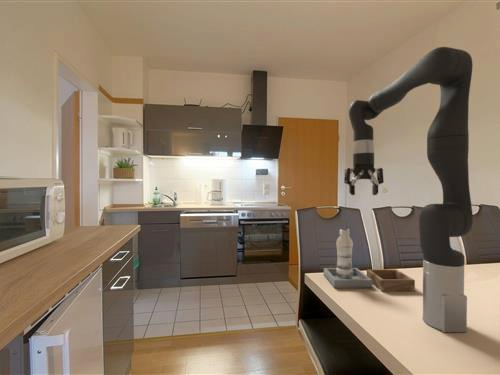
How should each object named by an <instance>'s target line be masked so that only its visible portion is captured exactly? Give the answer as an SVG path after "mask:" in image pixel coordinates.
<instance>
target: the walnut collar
mask: <svg viewBox="0 0 500 375" xmlns="http://www.w3.org/2000/svg"><path fill="white" fill-rule="evenodd" d="M366 276H368V277H369V278H370V279H371V280H372V286H374V285H375V286H376V287H375V286H374V287H375V288H377V289H378V290H379V289H380V290H381V291H380V290H379V291H380V292H416V288H415V287H416V280H415V279H414V278H412V277H411V276H408V275H407V274H405V273H403V272H401V271H400V270H398V269H395V268H394V269H393V268H392V269H390V268H389V269H387V268H386V269H380V268H379V269H373V268H372V269H366Z"/></svg>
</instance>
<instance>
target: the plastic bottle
mask: <svg viewBox="0 0 500 375" xmlns="http://www.w3.org/2000/svg"><path fill="white" fill-rule="evenodd" d="M338 233H339V236H338V238H337V239H336V242H335V245H336V251H337V252H336V253H337V262H336V267H335V268H336V276H337V278H338V279H352V278H353V270H352V268H353V262H352V256H353V248H354V247H353V246H354V242H353V240H352V238H351V237H350V234H351V233H350V229H349V228H340V229H339V232H338Z"/></svg>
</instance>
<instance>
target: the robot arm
mask: <svg viewBox="0 0 500 375" xmlns="http://www.w3.org/2000/svg"><path fill="white" fill-rule="evenodd" d="M472 75H473V59H472V56H471V54H470V53H469V52H468V51H466V50H464V49H459V48H453V47H448V46H440V47H436V48H434V49H432V50H430V52H428V53H427V54H425V55H424V56H423V57H422V58H420V59H419V60H417V62H415V63H414V64H413V65H412V66H411V67H410V68H408V69H407V70H406V71H405V72H403V73H402V74H401V75H400V76H398V77H397V78H396V79H395V80H393V81H392V82H390V83H389V84H387V85H386V86H384V87H382V88H380V89H379V90H377V91H376V92H374V93H373V94H371V95H370V97H369V99H368V101H367V100H361V99H360V100H359V99H357V100H354V101H353V102H352V103H351V104H350V106H349V109H348V117H349V120H350V125H351V128H352V131H353V145H352V166H353V167H352V168H350V167H346V168H345V169H344V180H343V181H344V184H346V185H348V186H349V187H348V189H349V194H350V195H351V196H355V195H356V190H355V189H356V186H355V184H356V183H357V182H358V180H368V181H369V182H370V183H371V184H372V186H371V187H372V189H371V190H372V192H371V193H372V196H377V195H378V194H379V185H381V184H384V181H385V180H384V169H383V168H382V167H378V168H375V144H374V127H373V126H372V125H370V124H368V123H366V121H371V120H373V119H376V118H377V117H378V116H379V115H380V114H382V112H384V111H386V110H388V109H389V108H391V107H393V106H396V105H397V104H398V103H399V104H400V102H402V101H403V99H404V98H405V97H406V95H408V93H409V92H410V91H413V89H416V88H419V87H421V86H425V85H428V84H431V85H436V86H439V90H440V104H439V108H438V111H437V112H436V115H435V117H434V118H433V120H432V122H431V124H430V126H429V128H428V131H427V135H426V136H427V137H426V155H427V160H428V163H429V164H430V166H431V168H432V169H433V171H434V173H435V174H436V176H437V178H438V179H439V182H440V184H441V188H442V203H430V204H426V205H425V206H424V207H422V209H421V210H420V213H419V218H418V219H419V220H418V227H419V228H418V229H419V230H418V231H419V244H420V249H421V252H422V258H423V259H422V320H423V322H424V323H426V324H427V325H428V326H430V327H432V328H434V329H436V330H439V331H441V332H443V333H467V330H468V329H467V327H468V324H467V322H468V320H467V318H468V316H467V314H468V313H467V312H468V305H467V304H468V297H467V295H466V294H465V255H464V254H463V252H461V251H459V250H456V249H453V248H452V246H451V238H459V237H464V236H467V235H468V234H469V233H470V231H471V230H472V226H473V221H474V218H473V208H472V201H471V200H472V199H471V192H470V191H471V190H470V180H469V179H470V178H469V176H470V175H469V173H470V172H469V148H470V146H469V144H470V143H469V141H470V140H469V102H470V99H469V98H470V90H471V85H472V84H471V82H472ZM352 173H353V176H352V178H351V174H352ZM374 174H376V176H375V175H374Z"/></svg>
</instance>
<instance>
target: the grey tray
mask: <svg viewBox="0 0 500 375" xmlns="http://www.w3.org/2000/svg"><path fill="white" fill-rule="evenodd" d="M336 268H337V267H328V268H327V267H324V268H323V276H324V278H325V279H326V280H327V281H328V282H329V284H330V285H331V286H332V288H334V289H372V288H373V284H372V280H371V279H370V278H369V277H368V276H367V274H365V273H364V272H363V271H361V270H360V269H359V268H358V267H352V270H353V278H352V279H338V278H337V276H336Z"/></svg>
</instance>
